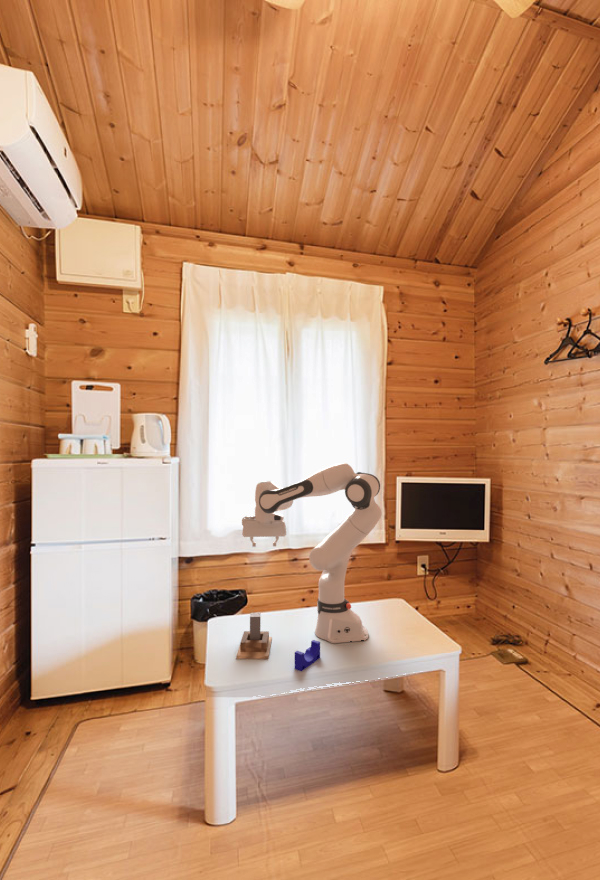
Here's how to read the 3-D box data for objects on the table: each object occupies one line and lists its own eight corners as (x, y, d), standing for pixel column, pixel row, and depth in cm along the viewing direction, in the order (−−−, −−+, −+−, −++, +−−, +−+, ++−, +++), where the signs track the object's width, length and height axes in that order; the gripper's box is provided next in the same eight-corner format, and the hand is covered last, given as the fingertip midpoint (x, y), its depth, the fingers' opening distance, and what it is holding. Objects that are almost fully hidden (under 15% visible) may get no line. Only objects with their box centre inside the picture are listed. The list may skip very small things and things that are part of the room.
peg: (260, 643, 160) (260, 612, 160) (260, 648, 156) (260, 616, 156) (250, 643, 160) (250, 612, 160) (249, 648, 156) (250, 616, 156)
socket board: (271, 639, 166) (271, 628, 166) (268, 658, 150) (268, 646, 150) (242, 639, 166) (242, 628, 166) (236, 658, 150) (236, 646, 150)
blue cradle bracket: (310, 654, 153) (310, 638, 153) (320, 658, 150) (320, 641, 151) (291, 668, 143) (291, 650, 144) (301, 672, 141) (301, 654, 141)
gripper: (241, 517, 182) (241, 548, 181) (286, 516, 184) (286, 547, 183) (242, 515, 188) (242, 545, 188) (286, 514, 190) (285, 544, 189)
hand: (264, 546), depth 185 cm, fingers open, 8 cm apart
